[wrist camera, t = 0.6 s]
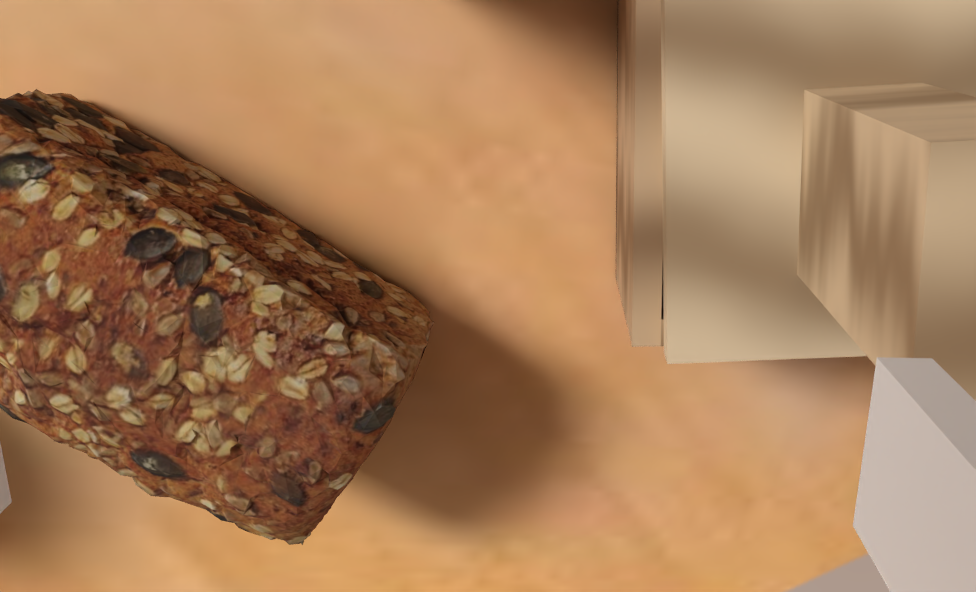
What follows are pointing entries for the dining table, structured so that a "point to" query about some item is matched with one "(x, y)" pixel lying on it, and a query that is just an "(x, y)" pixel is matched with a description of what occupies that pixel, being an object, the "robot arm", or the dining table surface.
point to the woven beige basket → (640, 171)
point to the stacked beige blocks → (819, 181)
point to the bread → (187, 324)
